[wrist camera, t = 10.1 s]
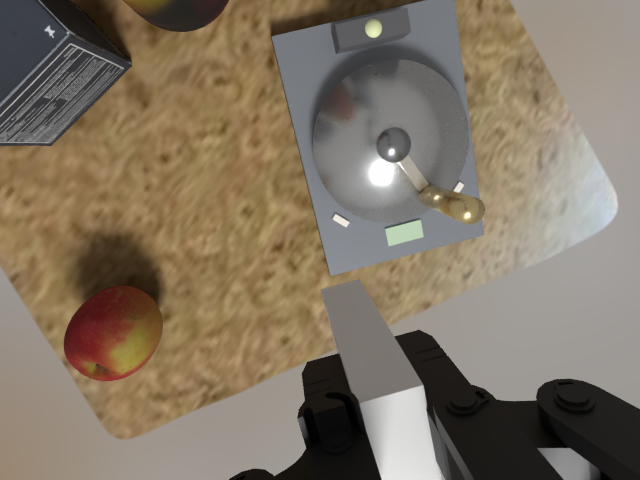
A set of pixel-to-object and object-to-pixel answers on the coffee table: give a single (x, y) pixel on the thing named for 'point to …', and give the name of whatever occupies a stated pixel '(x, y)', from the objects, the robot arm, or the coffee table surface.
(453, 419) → the robot arm
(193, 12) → the mug
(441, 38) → the record turntable
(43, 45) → the small box
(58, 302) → the coffee table surface
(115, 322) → the apple
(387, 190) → the crank wheel
